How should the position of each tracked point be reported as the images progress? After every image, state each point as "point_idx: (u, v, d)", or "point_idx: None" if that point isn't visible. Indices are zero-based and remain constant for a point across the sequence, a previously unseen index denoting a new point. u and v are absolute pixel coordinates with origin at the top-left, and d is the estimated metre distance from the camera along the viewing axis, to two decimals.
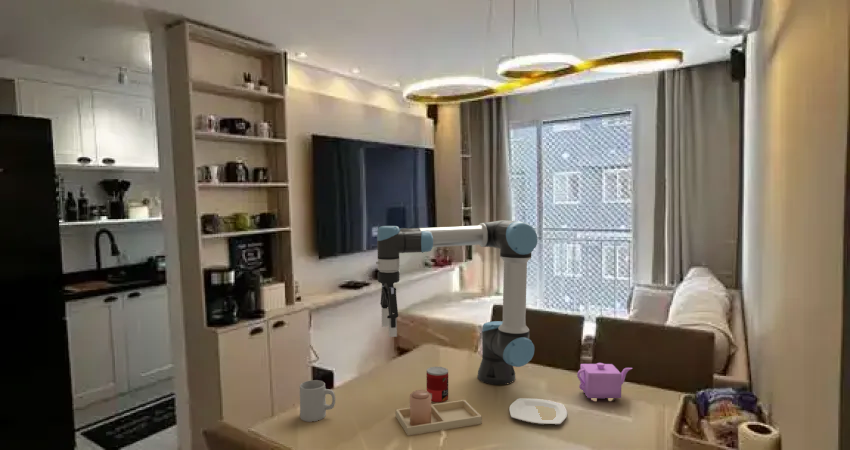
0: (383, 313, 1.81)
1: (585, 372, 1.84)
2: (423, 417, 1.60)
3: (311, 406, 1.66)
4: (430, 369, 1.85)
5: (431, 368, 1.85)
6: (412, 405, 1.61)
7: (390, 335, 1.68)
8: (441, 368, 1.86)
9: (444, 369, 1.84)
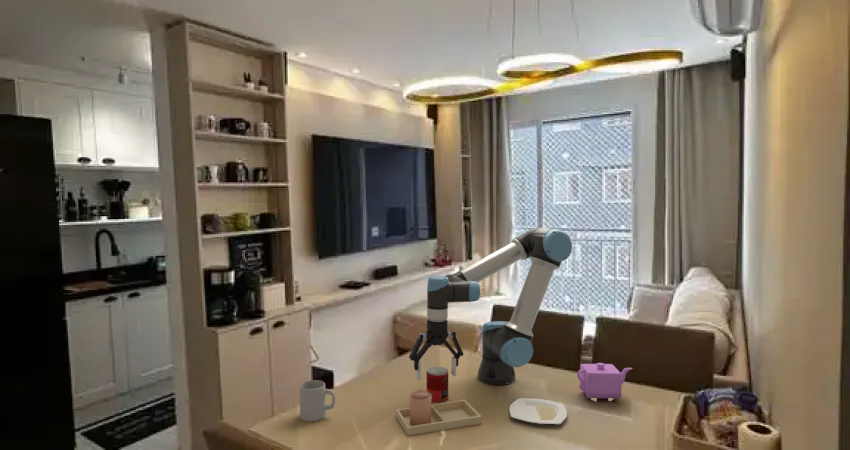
0: (452, 361, 1.86)
1: (585, 372, 1.84)
2: (423, 417, 1.60)
3: (311, 406, 1.66)
4: (430, 369, 1.85)
5: (431, 368, 1.85)
6: (412, 405, 1.61)
7: (416, 376, 1.82)
8: (441, 368, 1.86)
9: (444, 369, 1.84)
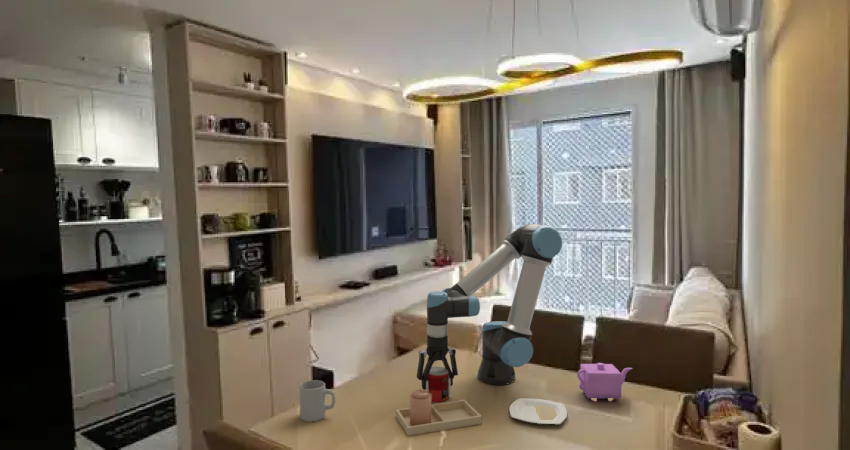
0: None
1: (585, 372, 1.84)
2: (423, 417, 1.60)
3: (311, 406, 1.66)
4: None
5: (431, 368, 1.86)
6: (412, 405, 1.61)
7: None
8: (441, 368, 1.86)
9: (444, 369, 1.84)
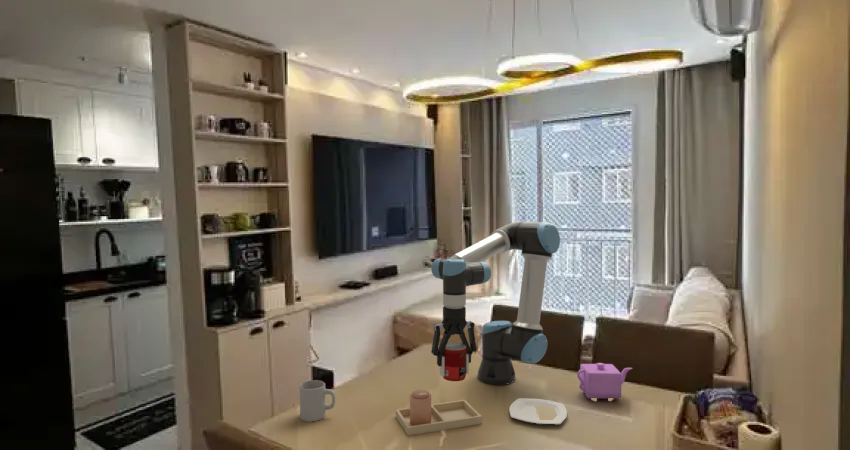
0: None
1: (585, 372, 1.84)
2: (423, 417, 1.60)
3: (311, 406, 1.66)
4: None
5: (447, 343, 1.69)
6: (412, 405, 1.61)
7: (440, 373, 1.66)
8: (458, 343, 1.69)
9: (461, 344, 1.68)
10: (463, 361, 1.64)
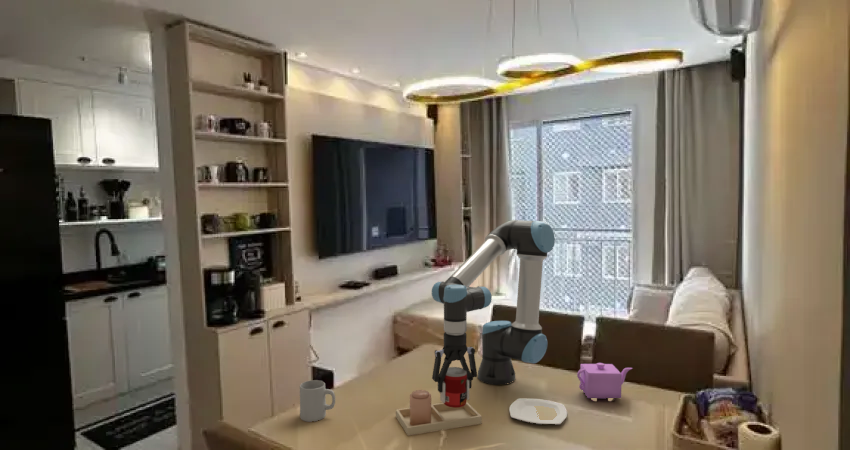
0: None
1: (585, 372, 1.84)
2: (423, 417, 1.60)
3: (311, 406, 1.66)
4: None
5: (448, 369, 1.69)
6: (412, 405, 1.61)
7: (440, 399, 1.67)
8: (459, 369, 1.69)
9: (462, 370, 1.68)
10: (464, 387, 1.64)
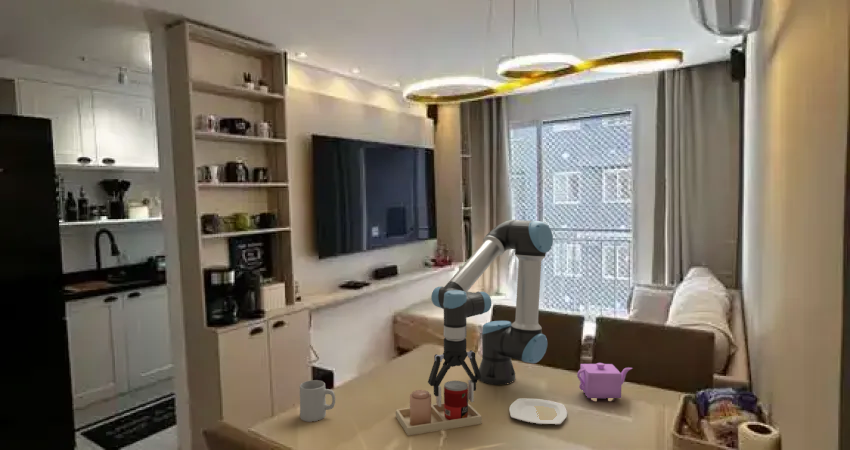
0: (469, 385, 1.70)
1: (585, 372, 1.84)
2: (423, 417, 1.60)
3: (311, 406, 1.66)
4: (448, 383, 1.69)
5: (449, 382, 1.70)
6: (412, 405, 1.61)
7: (436, 403, 1.66)
8: (460, 382, 1.70)
9: (463, 384, 1.69)
10: (465, 401, 1.65)
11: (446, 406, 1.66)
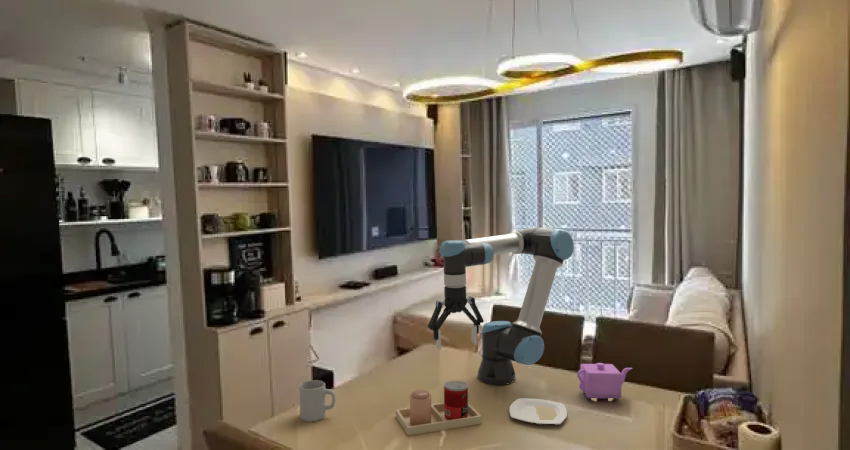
0: (472, 329, 1.78)
1: (585, 372, 1.84)
2: (424, 417, 1.60)
3: (311, 406, 1.66)
4: (448, 383, 1.69)
5: (449, 382, 1.70)
6: (412, 405, 1.61)
7: (436, 346, 1.73)
8: (460, 382, 1.70)
9: (463, 384, 1.69)
10: (465, 401, 1.65)
11: (446, 406, 1.66)
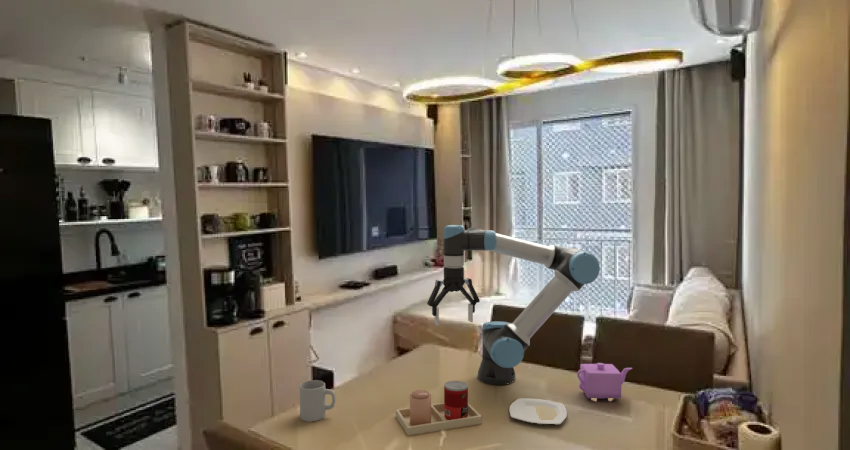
0: (468, 308, 1.91)
1: (585, 372, 1.84)
2: (423, 417, 1.60)
3: (311, 406, 1.66)
4: (448, 383, 1.69)
5: (449, 382, 1.70)
6: (412, 405, 1.61)
7: None
8: (460, 382, 1.70)
9: (463, 384, 1.69)
10: (465, 401, 1.65)
11: (446, 406, 1.66)
